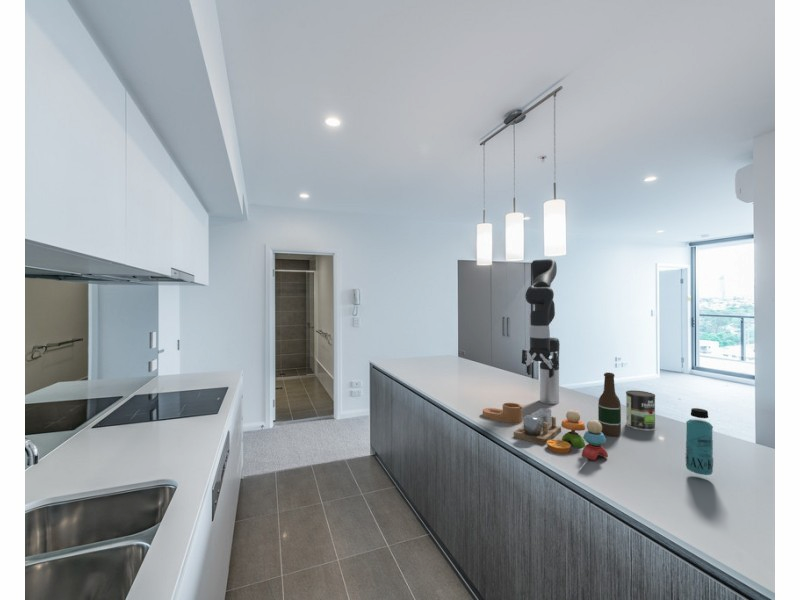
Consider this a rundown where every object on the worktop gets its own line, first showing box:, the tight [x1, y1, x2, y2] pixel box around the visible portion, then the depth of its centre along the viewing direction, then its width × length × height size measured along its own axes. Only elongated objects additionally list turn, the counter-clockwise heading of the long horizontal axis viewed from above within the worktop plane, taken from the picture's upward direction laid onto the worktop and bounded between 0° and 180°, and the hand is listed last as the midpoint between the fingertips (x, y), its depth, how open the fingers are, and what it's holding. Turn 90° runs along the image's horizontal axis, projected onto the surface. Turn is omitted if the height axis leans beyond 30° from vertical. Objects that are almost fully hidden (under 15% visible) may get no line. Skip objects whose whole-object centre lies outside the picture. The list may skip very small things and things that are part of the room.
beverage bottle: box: [684, 407, 714, 476], centre depth 110 cm, size 6×7×20 cm
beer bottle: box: [597, 372, 622, 437], centre depth 145 cm, size 8×8×24 cm
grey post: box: [523, 407, 552, 436], centre depth 144 cm, size 18×6×6 cm, turn 139°
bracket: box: [482, 402, 523, 425], centre depth 164 cm, size 18×8×7 cm, turn 50°
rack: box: [513, 416, 562, 446], centre depth 144 cm, size 18×12×6 cm, turn 138°
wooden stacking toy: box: [546, 409, 609, 461], centre depth 128 cm, size 18×17×12 cm
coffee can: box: [625, 389, 656, 432], centre depth 153 cm, size 10×10×14 cm
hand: (540, 376), depth 147 cm, fingers open, 8 cm apart
